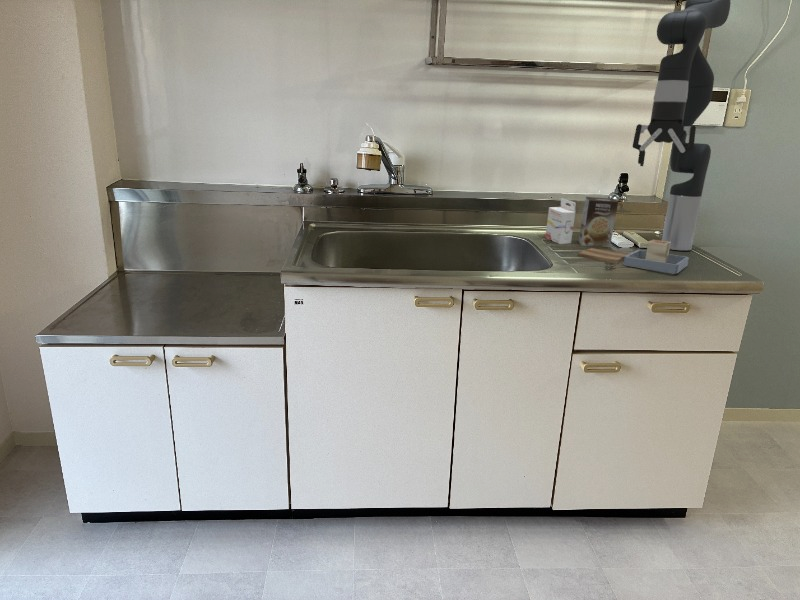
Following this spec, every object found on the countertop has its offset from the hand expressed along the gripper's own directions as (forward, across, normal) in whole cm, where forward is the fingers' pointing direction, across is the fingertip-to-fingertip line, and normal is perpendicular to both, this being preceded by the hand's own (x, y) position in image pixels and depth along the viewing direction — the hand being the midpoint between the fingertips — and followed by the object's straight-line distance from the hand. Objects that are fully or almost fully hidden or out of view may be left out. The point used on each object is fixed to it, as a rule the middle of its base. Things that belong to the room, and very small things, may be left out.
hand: (659, 166), depth 148 cm
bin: (+29, -3, -14) cm, 32 cm away
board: (+29, +12, -16) cm, 35 cm away
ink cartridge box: (+29, +28, -29) cm, 50 cm away
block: (+29, -3, -14) cm, 32 cm away
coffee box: (+29, +16, -30) cm, 45 cm away
